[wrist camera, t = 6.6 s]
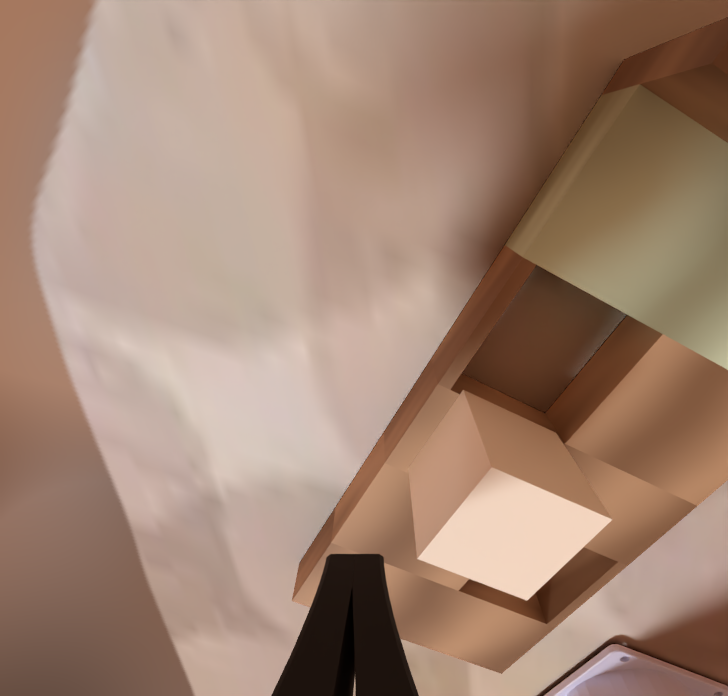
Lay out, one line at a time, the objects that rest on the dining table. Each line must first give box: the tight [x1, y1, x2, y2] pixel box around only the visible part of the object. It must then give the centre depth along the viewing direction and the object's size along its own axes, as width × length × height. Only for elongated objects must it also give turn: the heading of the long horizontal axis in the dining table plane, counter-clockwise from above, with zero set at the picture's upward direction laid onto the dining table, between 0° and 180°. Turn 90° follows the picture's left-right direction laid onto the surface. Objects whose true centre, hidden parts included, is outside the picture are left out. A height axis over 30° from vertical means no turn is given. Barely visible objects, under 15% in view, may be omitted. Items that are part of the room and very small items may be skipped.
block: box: [408, 390, 612, 600], centre depth 14 cm, size 4×4×4 cm
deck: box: [292, 17, 728, 674], centre depth 16 cm, size 12×24×4 cm, turn 153°
